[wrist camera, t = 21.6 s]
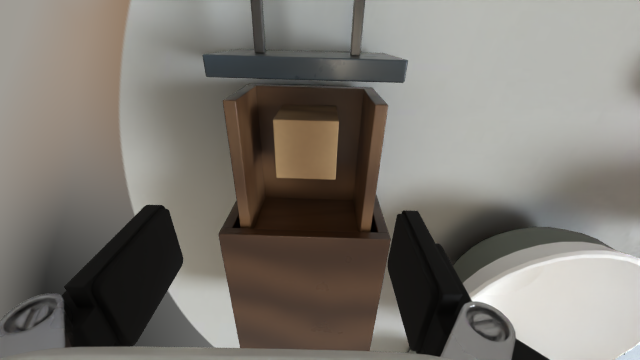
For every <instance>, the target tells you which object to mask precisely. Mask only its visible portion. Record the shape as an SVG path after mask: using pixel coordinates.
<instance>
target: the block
mask: <svg viewBox="0 0 640 360" xmlns="http://www.w3.org/2000/svg"><path fill="white" fill-rule="evenodd" d="M338 130H339V119H338V113H337V107H336V106H306V105H282V106H281V108H280V109H279V111H278V113H277V114H276V116H275V117H274V119H273V132H274V149H275V166H276V178H295V179H328V180H335V179H336V164H337V147H338Z"/></svg>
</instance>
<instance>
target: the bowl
mask: <svg viewBox="0 0 640 360" xmlns="http://www.w3.org/2000/svg"><path fill="white" fill-rule="evenodd" d="M453 267H454V269H455V271H456V273H457V275H458V276H459V278H460V280H461V282H462V284H463V285H464V287H465V289H466V291H467V293H468V294H469V296H470V298H471V300H472V301H473V302H474V301H478V302H483V303H486V304H488V305H491V306H493V307H494V308H496V309H498V310H499V311H501V312H502V313H503V314H504V315H505V316H506V317H507V318H508V319H509V321H510V322H511V323H512V325H513V327H514V330H515V333H516V339H518V340H519V341H521V342H523V343H524V344H526V345H527V346H529V347H531V348H532V349H534V350H535V351H537V352H539V353H540V354H542V355H543V356H545V357H547V358H548V359H550V360H614V359H616V358H618V357H620V356H621V355H623V354H624V353H626V352H628V351H629V350H631V349H633V348H634V347H635V346H637V345H638V344H639V343H640V259H639V258H637V257H634V256H632V255H629V254H626V253H622V252H619V251H616V250H614V249H613V248H611V247H609V246H608V245H606V244H604V243H603V242H601V241H599V240H598V239H596V238H593V237H590V236H588V235H585V234H583V233H578V232H573V231H568V230H563V229H557V228H551V227H530V228H524V229H517V230H512V231H508V232H505V233H501V234H498V235H495V236H492V237H490V238H488V239H486V240H483V241H482V242H480V243H478V244H477V245H475V246H473V247H472V248H471V249H469V250H468V251H467V252H466V253H465V254H463V255H462V256H461V257H460V258H459V259H458V260H457V262H456V263H455V264H454V265H453Z"/></svg>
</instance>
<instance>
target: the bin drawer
mask: <svg viewBox="0 0 640 360" xmlns="http://www.w3.org/2000/svg"><path fill="white" fill-rule="evenodd" d="M364 7H365V0H354V6H353V20H352V34H351V49H350V52H324V51H289V50H266V47H265V31H264V15H263V0H251V11H252V24H253V36H254V49H255V50H254V49H235V50H229V51H222V52H215V53H208V54H203V61H204V67H205V73H206V77H222V78H257V79H291V80H326V81H360V82H395V83H403V82H404V81H405V76H406V70H407V64H408V60H405V59H402V58H398V57H395V56H392V55H388V54H385V53H361V42H362V30H363V18H364ZM282 105H306V106H336V107H337V113H338V119H339V130H338V147H337V164H336V179H335V180H328V179H295V178H276V166H275V149H274V132H273V119H274V117H275V116H276V114H277V113H278V111H279V109H280V108H281V106H282ZM223 106H224V113H225V120H226V127H227V134H228V141H229V148H230V155H231V163H232V170H233V177H234V184H235V191H236V198H237V205H238V212H239V219H240V226H241V228H248V229H279V230H311V231H343V232H370V230H371V223H372V216H373V209H374V202H375V195H376V188H377V181H378V174H379V167H380V160H381V152H382V145H383V138H384V131H385V124H386V117H387V110H388V105H387V104H386V102H385V101H384V100H383V99H382V98H381V97H380V96H379V95H378V94H377V93H376V91H375V90H374V89H373V88H372V87H338V86H303V85H269V84H248V85H247V86H245V87H243V88H242V89H240V90H239V91H237V92H235V93H234V94H232V95H231V96H229V97H227V98H226V99H224V100H223Z"/></svg>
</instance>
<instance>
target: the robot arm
mask: <svg viewBox="0 0 640 360" xmlns="http://www.w3.org/2000/svg"><path fill="white" fill-rule="evenodd" d="M182 264H183V255H182V252H181V249H180V245H179V242H178V239H177V235H176V232H175V229H174V225H173V222H172V219H171V216H170V212H169V210H168V209H165V207H164V206H162V205H146V206H145V207H144V208H143V209H142V210H141V211H140V212H139V213H138V214H137V215H136V216H135V217H134V218H133V219H132V220H131V221H130V222H129V223H128V224H127V225H126V226H125V227H124V228H123V229H122V230H121V231H120V232H119V233H118V234H117V235H116V236H115V237H114V238H113V239H112V240H111V241H110V242H109V243H108V244H107V245H106V246H105V247H104V248H103V249H102V250H101V251H100V252H99V253H98V254H97V255H96V256H95V257H93V259H92V260H91V261H89V263H87V265H85V266H84V267H83V269H82V270H80V271H79V273H77V275H75V276H74V278H72V279H71V281H70V282H68V283H67V284H66V285H65V286H64V287H65V289H66V292H65V293H64V294H63V295H62V296H61V295H59V294H55V293H49V294H42V295H39V296H36V297H33V298H31V299H29V300H26V301H24V302H22V303H21V304H19V305H17V306H16V307H14V308H13V309H12V310H10V311H9V312H8V313H7V314H6V315H4V317H3V318H2V319H1V320H0V360H550V359H548V358H547V357H545V356H543V355H542V354H540V353H539V352H537V351H535V350H534V349H532V348H531V347H529V346H527V345H526V344H524V343H523V342H521V341H519V340H518V339H516V333H515V330H514V327H513V325H512V323H511V322H510V321H509V319H508V318H507V317H506V316H505V315H504V314H503V313H502V312H501V311H499V310H498V309H496V308H494V307H493V306H491V305H488V304H486V303H483V302H478V301H474V302H473V301H472V300H471V298H470V296H469V294H468V293H467V291H466V289H465V287H464V285H463V284H462V282H461V280H460V278H459V276H458V275H457V273H456V271H455V269H454V267H453V266H452V264H451V262H450V260H449V258H448V257H447V255H446V253H445V251H444V250H443V248H442V246H441V245H440V244H435V242H434V240H433V238H432V236H431V235H430V233H429V231H428V229H427V227H426V225H425V223H424V222H423V220H422V218H421V216H420V214H419V212H418V211H402V214H398V215H397V218H396V223H395V228H394V233H393V238H392V243H391V248H390V253H389V258H388V271H389V275H390V278H391V282H392V285H393V289H394V293H395V296H396V300H397V303H398V307H399V310H400V314H401V318H402V321H403V325H404V328H405V332H406V335H407V339H408V343H409V346H410V349H411V350H412V351H416V354H414V353H402V352H377V351H349V350H306V349H257V348H199V347H197V348H196V347H130V346H133V345H135V343H136V342H137V341H138V339H139V337H140V336H141V334H142V332H143V331H144V329H145V327H146V326H147V324H148V322H149V321H150V319H151V317H152V315H153V314H154V312H155V310H156V309H157V307H158V305H159V304H160V302H161V300H162V298H163V297H164V295H165V293H166V292H167V290H168V288H169V287H170V285H171V283H172V282H173V280H174V278H175V277H176V275H177V273H178V271H179V270H180V268H181V266H182Z"/></svg>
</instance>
